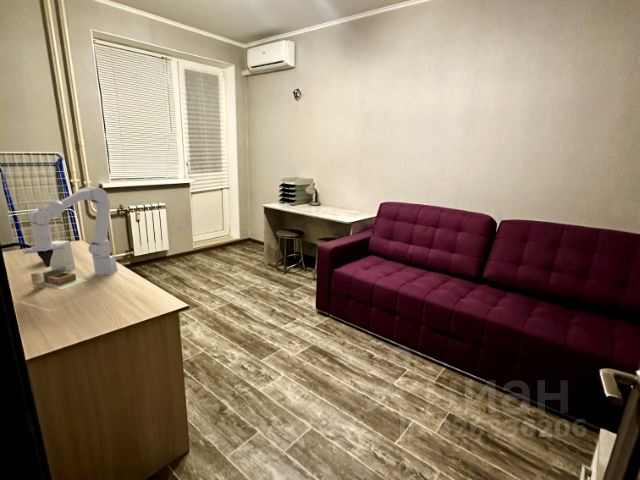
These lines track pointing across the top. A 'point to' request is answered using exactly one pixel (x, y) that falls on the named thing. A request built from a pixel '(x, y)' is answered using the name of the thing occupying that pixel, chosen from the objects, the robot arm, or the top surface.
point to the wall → (53, 272)
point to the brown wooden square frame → (61, 278)
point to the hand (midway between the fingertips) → (48, 266)
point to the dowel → (38, 280)
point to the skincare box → (62, 256)
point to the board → (74, 282)
